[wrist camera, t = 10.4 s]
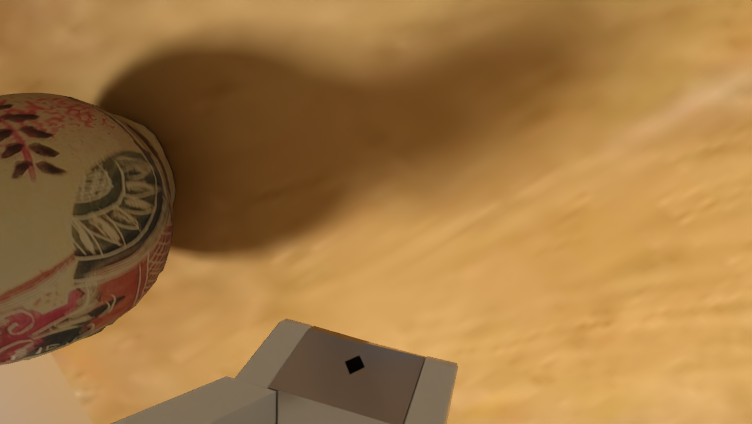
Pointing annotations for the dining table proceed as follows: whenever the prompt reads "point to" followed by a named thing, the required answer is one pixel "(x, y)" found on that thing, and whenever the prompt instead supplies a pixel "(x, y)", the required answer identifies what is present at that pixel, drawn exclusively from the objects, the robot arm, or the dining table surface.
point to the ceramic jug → (75, 220)
